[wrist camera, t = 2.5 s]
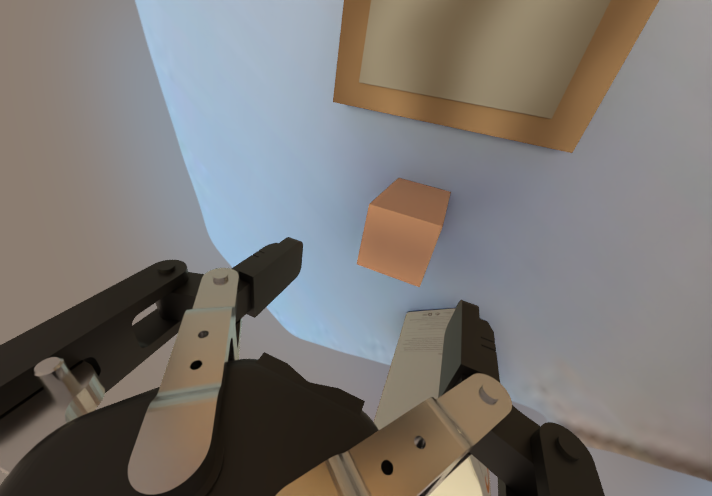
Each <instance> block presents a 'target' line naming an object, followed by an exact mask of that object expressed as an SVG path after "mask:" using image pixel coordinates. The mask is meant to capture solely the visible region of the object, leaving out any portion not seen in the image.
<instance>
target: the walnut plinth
mask: <svg viewBox="0 0 712 496" xmlns="http://www.w3.org/2000/svg"><path fill="white" fill-rule="evenodd" d="M658 2H659V0H344V6H343V15H342V24H341V33H340V43H339V52H338V61H337V70H336V79H335V88H334V97H333V102H336V103H341V104H345V105H350V106H355V107H359V108H364V109H369V110H374V111H378V112H383V113H388V114H392V115H397V116H402V117H406V118H411V119H416V120H420V121H425V122H430V123H434V124H439V125H444V126H448V127H453V128H458V129H463V130H467V131H472V132H477V133H481V134H486V135H491V136H495V137H500V138H505V139H509V140H514V141H519V142H523V143H528V144H533V145H537V146H542V147H547V148H552V149H556V150H561V151H566V152H570V153H572V152H573V151H574V149H575V147H576V145H577V143H578V142H579V140H580V138H581V136H582V135H583V133H584V131H585V129H586V128H587V126H588V124H589V122H590V121H591V119H592V117H593V115H594V114H595V112H596V110H597V108H598V107H599V105H600V103H601V101H602V100H603V98H604V96H605V94H606V93H607V91H608V89H609V87H610V86H611V84H612V82H613V80H614V79H615V77H616V75H617V73H618V72H619V70H620V68H621V66H622V65H623V63H624V61H625V59H626V58H627V56H628V54H629V52H630V51H631V49H632V47H633V45H634V44H635V42H636V40H637V38H638V37H639V35H640V33H641V31H642V30H643V28H644V26H645V24H646V23H647V21H648V19H649V17H650V16H651V14H652V12H653V10H654V9H655V7H656V5H657V3H658Z"/></svg>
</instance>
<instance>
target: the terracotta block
mask: <svg viewBox="0 0 712 496" xmlns="http://www.w3.org/2000/svg"><path fill="white" fill-rule="evenodd" d="M450 193H451V192H449V191H446V190H442V189H438V188H434V187H431V186H427V185H423V184H420V183H416V182H412V181H409V180H405V179H401V178H398V179H397V180H396V181H394V182H393V183H392V184H391V185H390V186H389V187H388V188H387V189H386V190H384V191H383V192H382V193H381V194H380V195H379V196H378V197H377V198H376V199H374V200H373V201H372V202H371V203H370V204H369V208H368V213H367V217H366V222H365V227H364V232H363V236H362V241H361V246H360V251H359V256H358V260H357V264H358V265H360V266H363V267H366V268H369V269H371V270H374V271H377V272H379V273H382V274H385V275H388V276H390V277H393V278H396V279H399V280H401V281H404V282H407V283H409V284H412V285H415V286H418V287H420V285H421V282H422V279H423V277H424V274H425V272H426V269H427V266H428V264H429V261H430V258H431V256H432V253H433V250H434V248H435V245H436V243H437V240H438V237H439V235H440V232H441V229H442V227H443V223H444V218H445V214H446V210H447V206H448V201H449V197H450Z"/></svg>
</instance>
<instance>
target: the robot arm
mask: <svg viewBox="0 0 712 496" xmlns="http://www.w3.org/2000/svg"><path fill="white" fill-rule="evenodd" d="M302 252H303V243H302V242H301V241H298V240H295V239H293V238H290V237H287V238H286V239H284V240H283V241H281V242H280V243H273V244H270V245H267V246H265V247H263V248H262V249H260V250H259V252H258V251H257V252H256V253H254V254H253V256H252V255H251V256H250V257H248V258H247V259H245V260H244V261H242V262H241V263H239V264H238V265H236V266H235V267H233V268H232V269H230V268H216V269H213V270H210V271H209V272H207V273H205V274H198V273H191V272H188V270H187V266H186V264H185V263H184V262H182V261H179V260H165V261H161V262H158V263H155V264H153V265H151V266H149V267H148V268H146V269H144V270H142V271H140V272H138V273H136V274H134V275H132V276H130V277H129V278H127V279H125V280H123V281H121V282H119V283H117V284H116V285H113V286H112V287H110V288H108V289H106V290H104V291H102V292H100V293H98V294H97V295H94V296H93V297H91V298H89V299H87V300H85V301H83V302H81V303H80V304H78V305H76V306H74V307H72V308H70V309H68V310H66V311H64V312H62V313H60V314H59V315H57V316H55V317H53V318H51V319H49V320H47V321H45V322H44V323H42V324H40V325H38V326H36V327H34V328H32V329H30V330H28V331H26V332H25V333H23V334H21V335H19V336H17V337H15V338H13V339H11V340H10V341H8V342H6V343H4V344H2V345H0V471H1V472H3V473H5V474H6V475H8V476H7V477H6V479H5V480H4V481H3V482H2V484H1V485H0V496H429V495H430V494H431V493H432V492H433V491H434V490H435V489H436V488H437V487H438V486H439V485H440V484H441V483H442V482H443V481H444V480H445V479H446V478H447V477H448V476H449V475H450V474H451V473H453V472H454V471H455V470H456V469H457V468H458V467H459V466H460V465H461V464H462V463H463V462H464V461H465V460H466V459H467V458H468V457H470V456H471V455H473V456H474V457H475V458H476V459H477V460H479V461H480V462H481V463H482V464H483V465H484V466H485V467H487V468H488V469H489V470H490V471H491V472H493V473H494V474H495V475H496V476H497V477H498V496H605V495H604V492H603V489H602V485H601V482H600V479H599V476H598V473H597V470H596V467H595V463H594V461H593V458H592V456H591V454H590V452H589V451H588V450H587V448H586V447H585V445H584V444H583V443H582V442H581V441H580V439H579V438H577V437H576V436H575V435H574V434H573V433H572V432H571V431H569V430H568V429H566V428H565V427H563V426H561V425H558V424H556V423H550V422H548V423H545V424H543V425H542V426H541V427H540V426H539V425H538V424H536V423H535V422H534V421H532V420H531V419H529V418H528V417H527V416H525V415H524V414H522V413H521V412H520V411H518V410H517V409H516V408H515V407H514V406H513V405H512V401H511V398H510V396H509V394H508V392H507V390H506V389H505V388H504V387H503V386H502V385H501V384H500V379H499V371H498V363H497V355H496V352H495V351H496V347H495V344H494V343H495V339H494V332H493V330H492V328H491V327H490V325H489V323H488V322H487V321H484V320H482V319H480V317H479V307H478V306H477V305H474V304H471V303H468V302H466V301H463V300H460V301H459V303H458V305H457V307H456V309H455V311H454V313H453V315H452V317H451V319H450V321H449V323H448V325H447V328H446V331H445V335H444V343H443V353H442V364H441V374H440V384H439V394H438V398H437V399H435V398H434V397H430V398H428V399H426V400H425V401H423V402H422V403H420V404H419V405H417V406H416V407H414V408H412V409H411V410H409V411H408V412H406V413H405V414H403V415H402V416H400V417H399V418H397V419H396V420H394V421H393V422H391V423H390V424H388V425H386V426H385V427H383V428H382V429H380V430H378V428H377V426H376V425H375V424H374V422H373V421H372V420H371V419H370V417H369V416H368V415H367V414H366V413H364V412H363V411H362V408H363V405H364V402H365V401H363V400H361V399H359V398H357V397H355V396H353V395H351V394H349V393H347V392H345V391H343V390H341V389H339V388H334V387H329V386H324V385H319V384H314V383H310V382H308V381H306V380H305V379H304V378H303V377H302V376H301V375H300V374H298V373H297V372H296V371H295V370H294V369H293V368H292V367H291V366H290V365H288V364H287V363H285V362H283V361H281V360H279V359H277V358H275V357H273V356H271V355H269V354H267V353H263V355H262V356H261V357H260V359H258V360H256V359H240V360H239V349H240V338H241V327H242V317H243V316H244V315H245V314H248V315H250V316H252V317H256V316H257V315H258V314H259V313H260V312H261V311H262V310H263V309H264V308H265V307H267V306H268V305H269V304H270V303H271V302H272V301H273V300H274V299H275V298H276V297H277V296H278V295H279V294H280V293H281V292H282V291H283V290H284V289H285V288H286V287H287V286H288V285H289V284H290V283H291V282H292V281H293V280H294V279H295V278H296V277H297V276H298V274H299V273H300V270H301V264H302ZM154 303H156V305H157V309H156V310H155V311H153V312H152V313H150V314H149V315H147V316H146V317H144V318H143V319H142V320H140V321H139V322H137V323H136V324H134V325H133V326H132V321H133V320H134V318H135V317H136V316H137V315H138V314H139V313H140V312H142V311H143V310H145V309H146V308H148V307H150V306H151V305H152V304H154ZM177 333H178V335H177V337H176V341H175V344H174V347H173V350H172V352H171V355H170V358H169V361H168V364H167V367H166V371H165V373H164V376H163V379H162V383H161V385H160V387H158V388H155V389H152V390H150V391H147V392H144V393H141V394H139V395H136V396H133V397H131V398H128V399H125V400H122V401H120V402H117V403H114V404H111V405H109V406H106V407H103V408H100V409H98V410H96V408H97V407H98V405H99V404H100V403H101V401H102V400H103V397H104V394H105V393H106V392H107V391H108V390H109V389H111V388H112V387H113V386H114V385H116V384H117V383H118V382H119V381H120V380H122V379H123V378H124V377H125V376H126V375H127V374H129V373H130V372H131V371H132V370H134V369H135V368H136V367H137V366H138V365H139V364H141V363H142V362H143V361H144V360H145V359H147V358H148V357H149V356H150V355H152V354H153V353H154V352H155V351H156V350H158V349H159V348H160V347H161V346H162V345H163V344H165V343H166V342H167V341H168V340H170V339H171V338H172V337H173V336H175V335H176V334H177Z"/></svg>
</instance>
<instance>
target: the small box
mask: <svg viewBox="0 0 712 496" xmlns="http://www.w3.org/2000/svg"><path fill="white" fill-rule="evenodd" d="M455 309H456V308H454V309H440V310H428V311H416V312H407V314H406V317H405V320H404V324H403V327H402V330H401V334H400V337H399V340H398V344H397V347H396V350H395V354H394V357H393V360H392V363H391V366H390V370H389V373H388V376H387V380H386V383H385V386H384V389H383V393H382V396H381V399H380V403H379V406H378V409H377V412H376V416H375V419H374V424H375V425H376V426H377V428H378V430H380V429H382V428H383V427H385V426H386V425H388V424H390V423H391V422H393V421H394V420H396V419H397V418H399V417H400V416H402V415H403V414H405V413H406V412H408V411H409V410H411V409H412V408H414V407H416V406H417V405H419V404H420V403H422V402H423V401H425V400H426V399H428V398H430V397H434V398H435V399H437V398H438V394H439V384H440V374H441V364H442V353H443V343H444V335H445V331H446V328H447V325H448V323H449V321H450V319H451V317H452V315H453V313H454V311H455ZM429 496H491V492H490V472H489V469H488V468H487V467H485V466H484V465H483V464H482V463H481V462H480V461H479V460H477V459H476V458H475V457H474V456H473V455H471V456H470V457H468V458H467V459H466V460H465V461H464V462H463V463H462V464H461V465H460V466H459V467H458V468H457V469H456V470H455V471H454V472H453V473H451V474H450V475H449V476H448V477H447V478H446V479H445V480H444V481H443V482H442V483H441V484H440V485H439V486H438V487H437V488H436V489H435V490H434V491H433V492H432V493H431V494H430V495H429Z"/></svg>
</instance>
